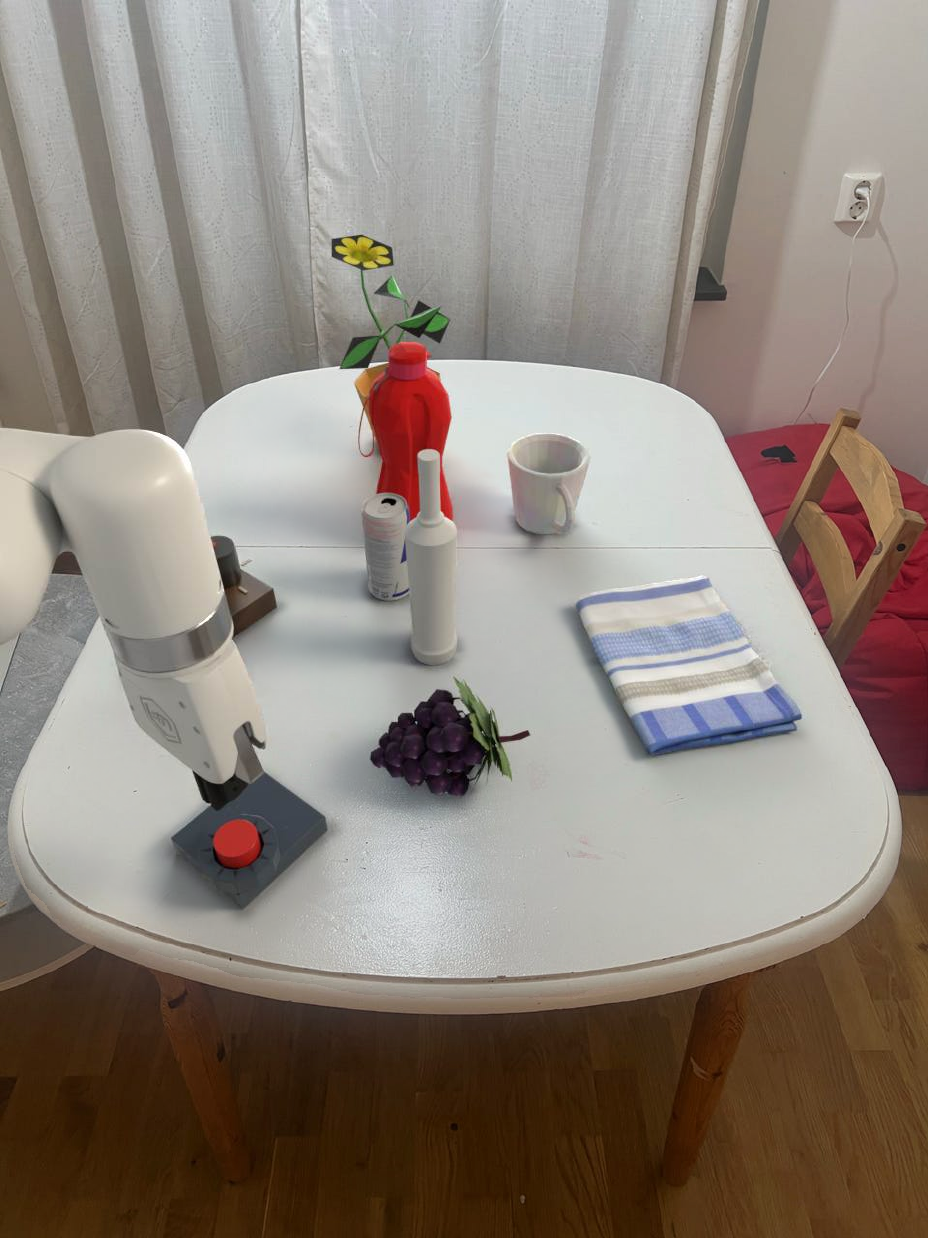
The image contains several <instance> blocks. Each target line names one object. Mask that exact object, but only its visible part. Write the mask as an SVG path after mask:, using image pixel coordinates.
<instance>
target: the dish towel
mask: <svg viewBox="0 0 928 1238" xmlns="http://www.w3.org/2000/svg"><path fill="white" fill-rule="evenodd" d="M575 607H576V610H577V612H578V614H579V616H580V619H581V623H582V625H583V627H584V630H585V632H586V634H587V636H588V639H589V642H590V645H591V646H592V649H593V651H594V654H595V656H596V657H597V660H598V661H599V663H600V665H601V667H602V669H603V670H604V672H605V674H606V675H607V676H608V679H609V680H610V682H611V685H612V687H613V689H614V692H615V694H616V697H617V698H618V701H619V702H620V704H621V706H622V707H623V709H624V711H625V712H626V714H627V716H628V718H629V720H630V722H631V724H632V726H633V727H634V729H635V731H636V733H637V735H638V737H639V739H640V741H641V743H642V744H643V746H644V748H645V749H646V751H647V753H648V754H650V755H661V754H665V753H670V752H676V751H680V750H686V749H694V748H700V747H709V746H716V745H720V744H729V743H730V744H731V743H736V742H740V741H744V740H748V739H755V738H760V737H764V736H765V737H766V736H772V735H778V734H783V733H790V732H797V729H798V728H797V725H796V723H795V722H796V721H799V720H802V717H803V714H802V712H801V709H800V707H799V706H798V705H797V703H796V702H795V700H794V699H793V698H792V697H791V696H790V694H788V692H787V691H786V690H785V689H784V688H783V687H782V685H781V684H780V683H779V682H778V681H777V680H776V679H775V677H774V675H773V674H772V673H771V670H770V668H769V667H768V665H767V663H766V662H765V660H764V659H763V658H762V657H761V656H759V655H758V654H757V653H756V652H755V650H754V649H753V648H752V646H751V645H750V643H749V641H748V638H747V635H746V633H745V631H744V630H743V628H742V626H741V625H740V623H739V621H737V619H736V617H735V616H734V615H733V613H732V612H731V610H729V609H728V608H727V606H726V605H725V603H724V602H723V600H722V599H721V598H720V597H719V595H718V593H717V592H716V590H715V589H714V588H713V584H712V582H711V580H710V578H709V577H707V576H704V575H702V574H701V575H699V576H696V577H689V578H688V577H687V578H686V577H685V578H678V579H672V580H665V581H659V582H651V583H645V584H642V585H636V586H629V587H622V588H619V587H613V588H609V589H602V590H597V591H592V592H588V593H586V594H583V595H581V596H579V597H578V599H577V600H576V601H575Z"/></svg>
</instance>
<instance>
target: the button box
mask: <svg viewBox="0 0 928 1238" xmlns="http://www.w3.org/2000/svg"><path fill="white" fill-rule="evenodd" d="M234 820H245V821H248V822H250V823H252V824H253V825H254V826H255V828H256V830H257V833H258V836H259V840H260V844H261V848H260V852H259V854H258V856H257V858H256V859H255V860H254V861H253V862H252V863H250V864H249V865H247V866H245V867H241V868H229V867H226V866H224V865H223V864H222V863H221V862H220V861H219V859H218V857H217V854H216V851H215V848H214V844H213V840H214V836H215V834H216V832H217V831H218V829H219V828H220V827H221V826H223V825H224V824H226V823H228V822H230V821H234ZM327 832H328V825H327V819H326V815H324V814H322V813H321V812H320V811H319V810H317V808H315V807H313V806H312V805H310V804H309V803H308V802H306V801H305V800H303V799H302V798H301V797H300V796H298V795H297V794H296V793H294V792H293V791H291V790H290V789H289V788H287V787H286V786H285V785H283V784H282V783H281V782H279V781H278V780H277V779H275V778H274V777H273V776H272V775H270V774H269V773H267V772H266V771H264V774H263V775H261V776H260V777H259V778H258V779H257V780H255V781H254V782H253V783H252V784H248V785H247V787H246V788H245V789H244V790H243V791H242V793H241V794H240V795H239V796H238V797H237V798H236V799H235V800H233V801H231V802H229V803H228V804H227V805H225V806H224V807H223V808H222V809H221V810H219V811H216V810H215V809H213V808H212V807H211V804H209V805H208V807H207V808H206V809H204V810H203V811H202V812H200V813H199V814H198V815H197V816H195V817H194V818H193V819H192V820H191V821H189V822H188V823H186V825H184V826H183V827H182V828H180V830H178V831H177V832H176V833H174V834H173V835H172V836H171V837H170V839H171V842H172V845H173V847H174V850H175V852H176V853H177V854H178V855H179V856H181V858H183V859H184V860H185V861H186V862H187V863H189V865H191V866H192V867H193V868H194V869H195V870H197V871H198V872H199V873H200V874H201V875H203V878H204V880H205V881H206V882H207V883H208V884H209V885H210V886H212V887H213V889H215V890H216V891H217V892H222V893H223V894H224V895H226V897H227V898H229V899H230V900H231V901H232V902H234V903H235V904H236V905H237V906H238V907H239V908H241V909H242V910H245V909H246V907H248V906H249V905H250V904H251V903H252V902H253V901H254V900H255V899H256V898H257V897H258V896H259V895H260V894H261V893H263V892H264V891H265V890H266V889H267V888H268V887H269V886H270V885H271V884H272V883H274V882H275V881H276V879H278V877H280V876H281V875H282V874H283V873H284V872H285V871H286V870H288V868H289V867H290V866H291V865H292V864H294V862H296V861H297V860H298V859H299V858H301V856H302V855H303V854H304V853H305V852H306V851H308V850H309V848H311V847H312V846H313V845H314V844H315V843H316V842H317V841H318V840H319V839H321V838H322V836H323V835H325V834H326V833H327Z"/></svg>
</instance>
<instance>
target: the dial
mask: <svg viewBox="0 0 928 1238" xmlns="http://www.w3.org/2000/svg"><path fill="white" fill-rule="evenodd" d="M210 537H211V541H212V545H213V549H214V553H215V556H216V560H217V564H218V568H219V572H220V576H221V580H222V583H223V588H224V589H227V588H230V587H232V586H234V585H236V584H237V583H238V582H239V581H240V579H241V576H242V574H241V569H242V568H241V564H240V560H239V556H238V552H237V548H236V543H235V541H234V540H233V539H232V538H231V537H229V536H226V535H210Z"/></svg>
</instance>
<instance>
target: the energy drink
mask: <svg viewBox="0 0 928 1238" xmlns="http://www.w3.org/2000/svg"><path fill="white" fill-rule="evenodd" d="M361 522H362V523H361V524H362V534H363V543H364V552H365V553H364V555H365V563H366V564H365V565H366V574H367V575H366V576H367V586H368V591H369V592H370V594H371V595H372V596H374V597H375V598H377V599H378V600H381V601H385V602H393V601H398V600H401V599H405V597H407V596H409V595H410V594H409V581H408V569H407V556H406V544H405V527H406V525H407V524H408V523H409V522H410V510H409V507H408V505H407V502H406V500H405V499H404V498H403V497H402V496H400V495H397V494H393V493H380V494H376V493H375V494H373V495H370V496H369V497H367V498H366V499H365V500H364V501H363V504H362V509H361Z"/></svg>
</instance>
